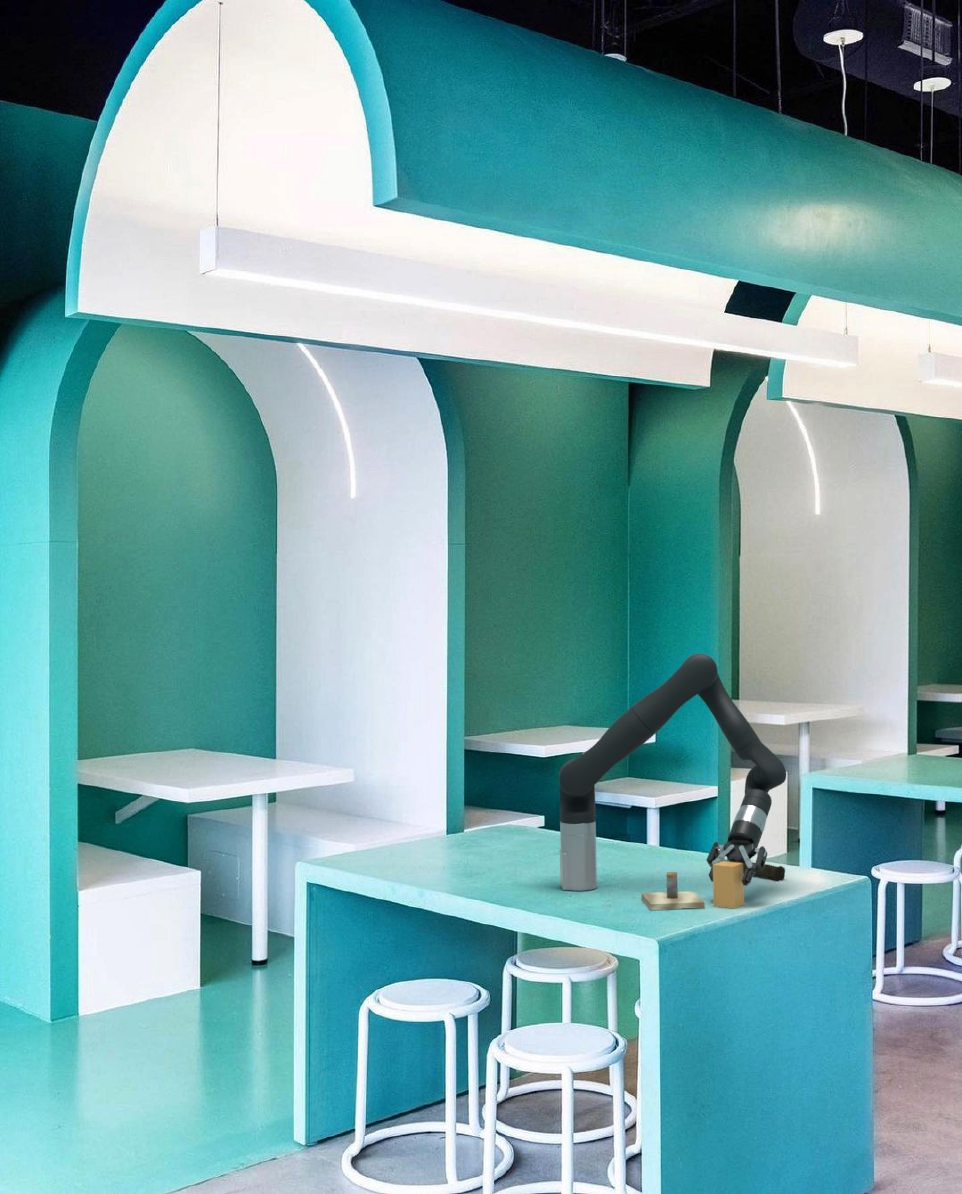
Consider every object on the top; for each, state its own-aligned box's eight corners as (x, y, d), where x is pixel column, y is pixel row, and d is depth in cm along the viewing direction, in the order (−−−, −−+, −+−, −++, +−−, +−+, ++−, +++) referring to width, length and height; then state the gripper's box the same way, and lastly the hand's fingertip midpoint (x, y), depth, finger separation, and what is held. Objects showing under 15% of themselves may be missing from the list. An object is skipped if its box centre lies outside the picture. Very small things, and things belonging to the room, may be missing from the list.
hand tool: (786, 880, 364) (786, 862, 364) (776, 882, 362) (775, 864, 362) (734, 870, 379) (733, 853, 379) (723, 872, 377) (723, 855, 377)
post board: (650, 910, 331) (650, 879, 331) (641, 899, 344) (640, 869, 344) (704, 908, 332) (703, 877, 332) (693, 897, 345) (692, 867, 345)
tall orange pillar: (713, 906, 334) (712, 864, 334) (724, 902, 338) (722, 861, 338) (734, 908, 331) (733, 866, 331) (744, 904, 335) (743, 863, 335)
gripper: (716, 816, 346) (696, 870, 337) (769, 820, 337) (750, 875, 328) (727, 834, 350) (707, 888, 341) (779, 839, 342) (760, 894, 332)
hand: (728, 882), depth 334 cm, fingers open, 8 cm apart
